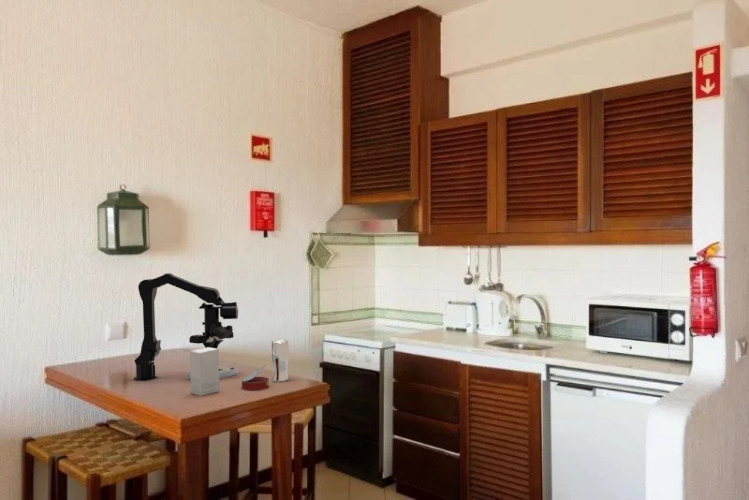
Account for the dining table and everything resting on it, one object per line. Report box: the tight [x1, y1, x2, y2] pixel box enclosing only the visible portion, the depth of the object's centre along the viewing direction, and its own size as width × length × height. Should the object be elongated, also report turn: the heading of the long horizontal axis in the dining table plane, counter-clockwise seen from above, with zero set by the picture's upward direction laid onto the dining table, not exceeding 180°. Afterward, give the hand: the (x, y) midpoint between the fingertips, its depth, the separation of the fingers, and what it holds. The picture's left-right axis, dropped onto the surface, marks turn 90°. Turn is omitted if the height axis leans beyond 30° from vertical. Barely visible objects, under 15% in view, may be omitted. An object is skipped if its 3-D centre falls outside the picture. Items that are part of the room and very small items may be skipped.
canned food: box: [241, 364, 270, 391], centre depth 220 cm, size 11×10×10 cm
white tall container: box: [270, 339, 290, 383], centre depth 232 cm, size 7×7×15 cm
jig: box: [186, 365, 239, 380], centre depth 241 cm, size 16×12×3 cm
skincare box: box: [189, 347, 220, 397], centre depth 213 cm, size 8×7×16 cm
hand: (212, 358), depth 241 cm, fingers closed
